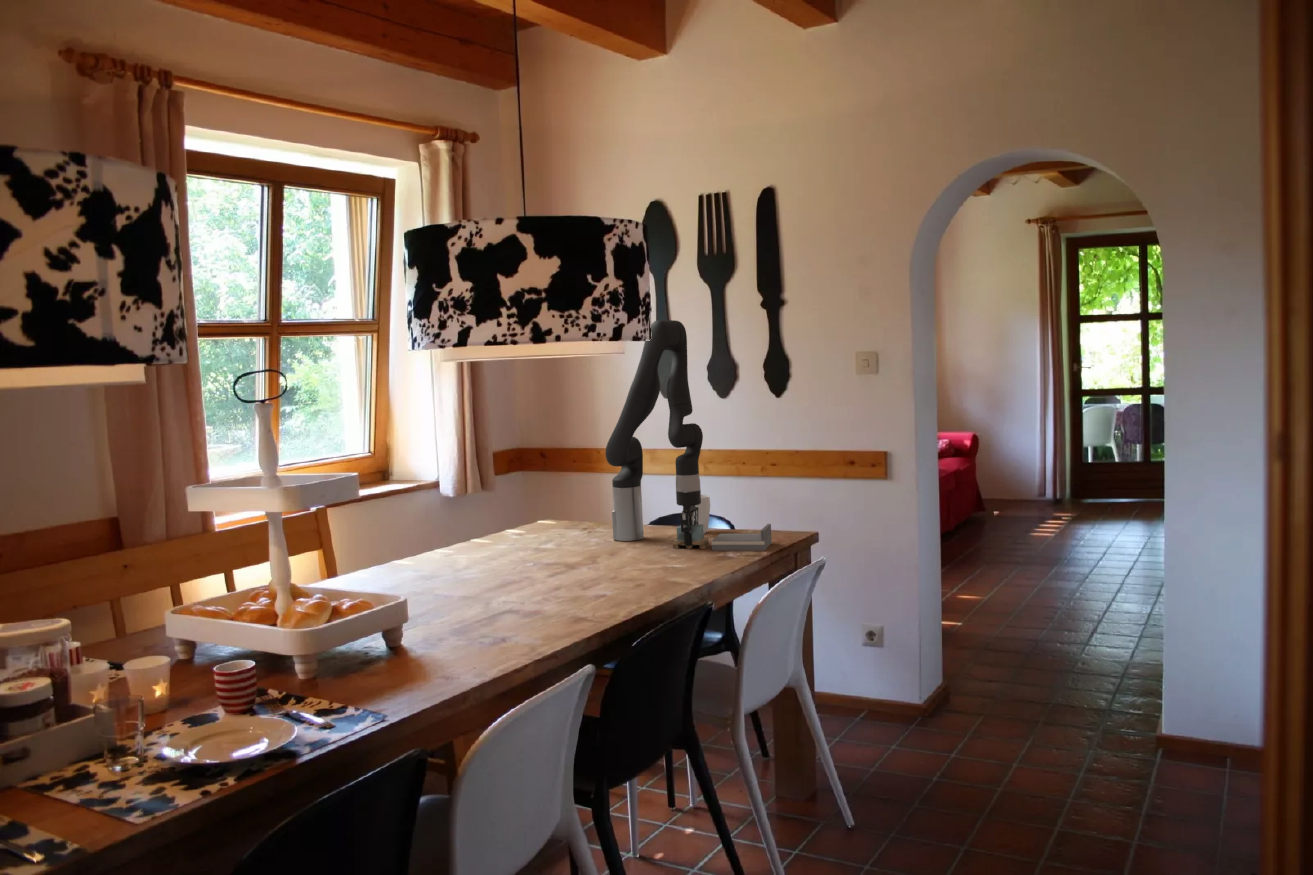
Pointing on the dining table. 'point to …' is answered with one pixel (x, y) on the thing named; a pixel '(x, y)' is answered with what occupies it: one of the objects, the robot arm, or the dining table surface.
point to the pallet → (702, 543)
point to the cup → (704, 512)
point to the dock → (743, 541)
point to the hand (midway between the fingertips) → (690, 543)
